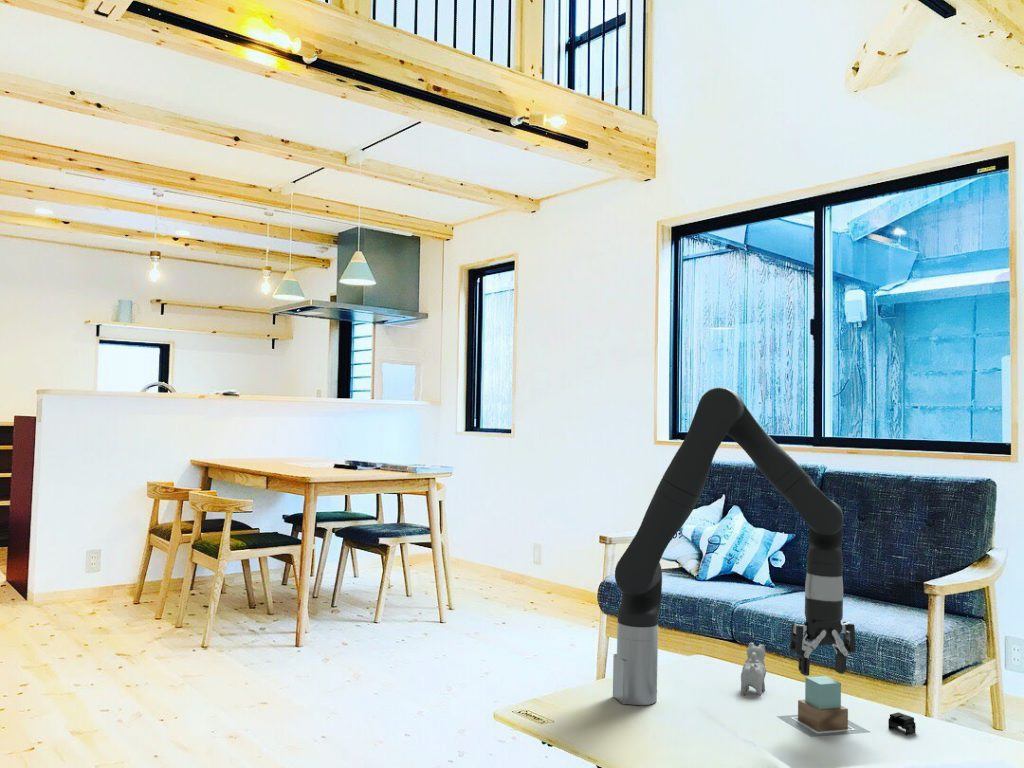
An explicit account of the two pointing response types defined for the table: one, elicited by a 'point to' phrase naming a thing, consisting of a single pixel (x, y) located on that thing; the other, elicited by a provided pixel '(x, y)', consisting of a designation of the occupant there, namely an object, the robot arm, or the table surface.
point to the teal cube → (823, 692)
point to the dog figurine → (754, 669)
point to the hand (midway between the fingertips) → (822, 673)
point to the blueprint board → (814, 733)
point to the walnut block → (822, 717)
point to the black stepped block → (902, 722)
